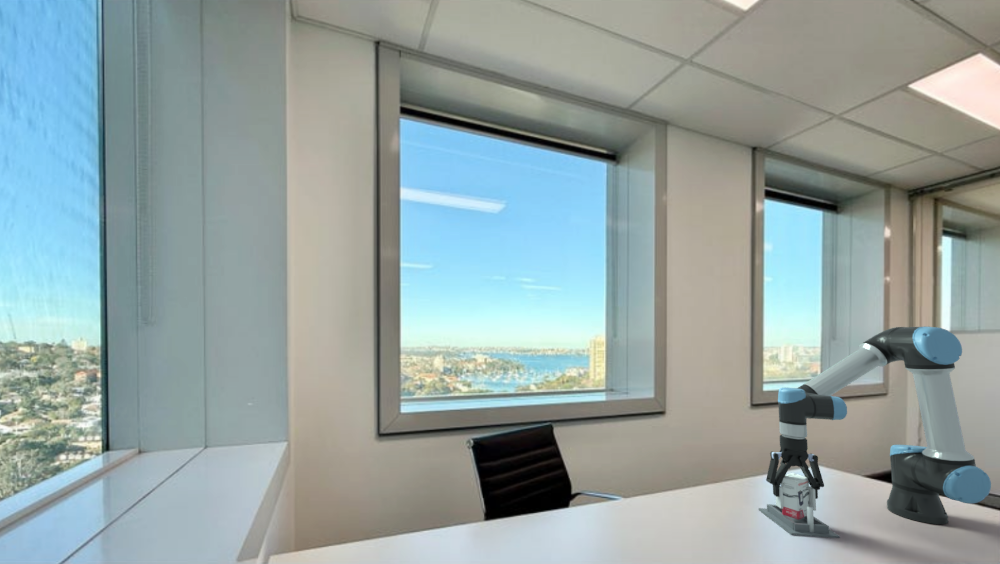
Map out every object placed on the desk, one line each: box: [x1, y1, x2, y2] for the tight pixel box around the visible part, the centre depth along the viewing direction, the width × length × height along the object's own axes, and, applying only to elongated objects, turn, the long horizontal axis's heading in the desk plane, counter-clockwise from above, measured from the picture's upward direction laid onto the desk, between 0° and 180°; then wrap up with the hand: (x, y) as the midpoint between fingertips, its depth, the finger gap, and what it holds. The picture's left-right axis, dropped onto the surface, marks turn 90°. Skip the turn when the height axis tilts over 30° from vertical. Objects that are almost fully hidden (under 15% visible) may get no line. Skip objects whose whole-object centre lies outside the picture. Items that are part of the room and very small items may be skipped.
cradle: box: [758, 503, 841, 539], centre depth 138 cm, size 14×18×8 cm
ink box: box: [780, 472, 810, 520], centre depth 138 cm, size 8×5×12 cm, turn 123°
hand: (795, 507), depth 138 cm, fingers closed on ink box, 9 cm apart
